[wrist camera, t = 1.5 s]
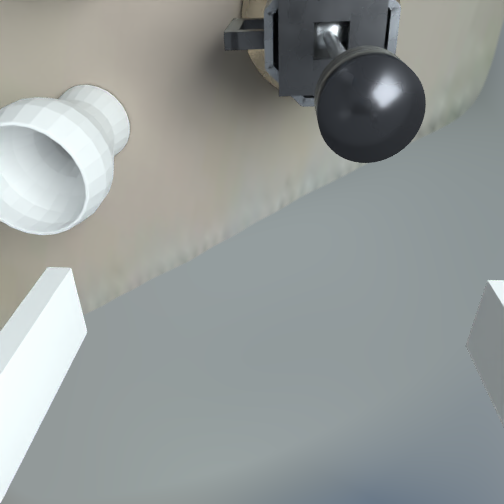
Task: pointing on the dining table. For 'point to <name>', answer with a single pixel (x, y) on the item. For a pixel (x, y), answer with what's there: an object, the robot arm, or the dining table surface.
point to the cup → (58, 158)
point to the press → (306, 37)
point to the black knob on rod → (364, 97)
